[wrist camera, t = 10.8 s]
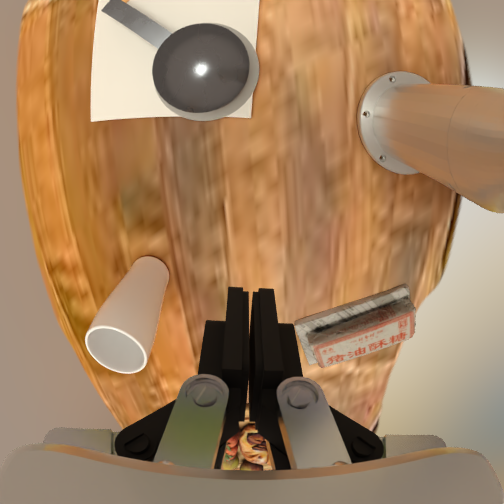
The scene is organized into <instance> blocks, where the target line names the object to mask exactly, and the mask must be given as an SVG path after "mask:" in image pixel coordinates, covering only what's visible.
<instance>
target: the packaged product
mask: <svg viewBox="0 0 504 504" xmlns="http://www.w3.org/2000/svg"><path fill="white" fill-rule="evenodd" d="M415 310H416V308H415V307H414V305H413V304H412V303H411V301H410V293H409V287H408V286H407V285H406V284H403V285H401V286H398V287H396V288H393V289H390V290H388V291H385V292H381V293H378V294H375V295H372V296H369V297H366V298H363V299H360V300H357V301H354V302H350V303H347V304H344V305H341V306H338V307H335V308H332V309H329V310H326V311H323V312H320V313H317V314H314V315H311V316H308V317H305V318H302V319H299V320H296V321H295V328H296V331H297V334H298V336H299V339H300V342H301V345H302V348H303V350H304V353H305V355H306V358H307V360H308V362H309V365H312V364H314V363H317V362H318V364H319V366H320V367H321V368H323V367H327V366H331V365H334V364H338V363H341V362H344V361H348V360H350V359H354V358H357V357H360V356H363V355H366V354H369V353H371V352H374V351H378V350H380V349H383V348H386V347H388V346H391V345H394V344H397V343H399V342H402V341H406V340H408V339H409V338H411V337H412V336H413V334H414V333H415V325H416V324H415Z"/></svg>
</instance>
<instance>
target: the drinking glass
mask: <svg viewBox="0 0 504 504" xmlns="http://www.w3.org/2000/svg"><path fill="white" fill-rule="evenodd" d="M168 282H169V271H168V269H167V267H166V265H165V264H164V263H163V262H162V261H161V260H159V259H157V258H155V257H151V256H144V257H141V258H139V259H137V260H136V261H135V262H134V263H133V265H132V266H131V268H130V270H129V271H128V272H127V273H126V275H125V276H124V277H123V279H122V280H121V281H120V282H119V284H118V285H117V286H116V288H115V289H114V290H113V291H112V293H111V294H110V295H109V297H108V298H107V299H106V300H105V302H104V303H103V305H102V306H101V307H100V309H99V311H98V312H97V314H96V316H95V317H94V319H93V321H92V323H91V325H90V327H89V330H88V332H87V334H86V337H85V343H86V347H87V349H88V351H89V353H90V354H91V355H92V357H93V358H94V359H95V360H96V361H97V362H99V363H100V364H101V365H103V366H104V367H106V368H108V369H110V370H113V371H116V372H119V373H127V374H128V373H136V372H139V371H140V370H142V369H143V368H144V367H145V366H146V364H147V361H148V358H149V356H150V353H151V350H152V347H153V344H154V341H155V337H156V333H157V329H158V324H159V319H160V314H161V309H162V305H163V300H164V296H165V291H166V288H167V285H168Z"/></svg>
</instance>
